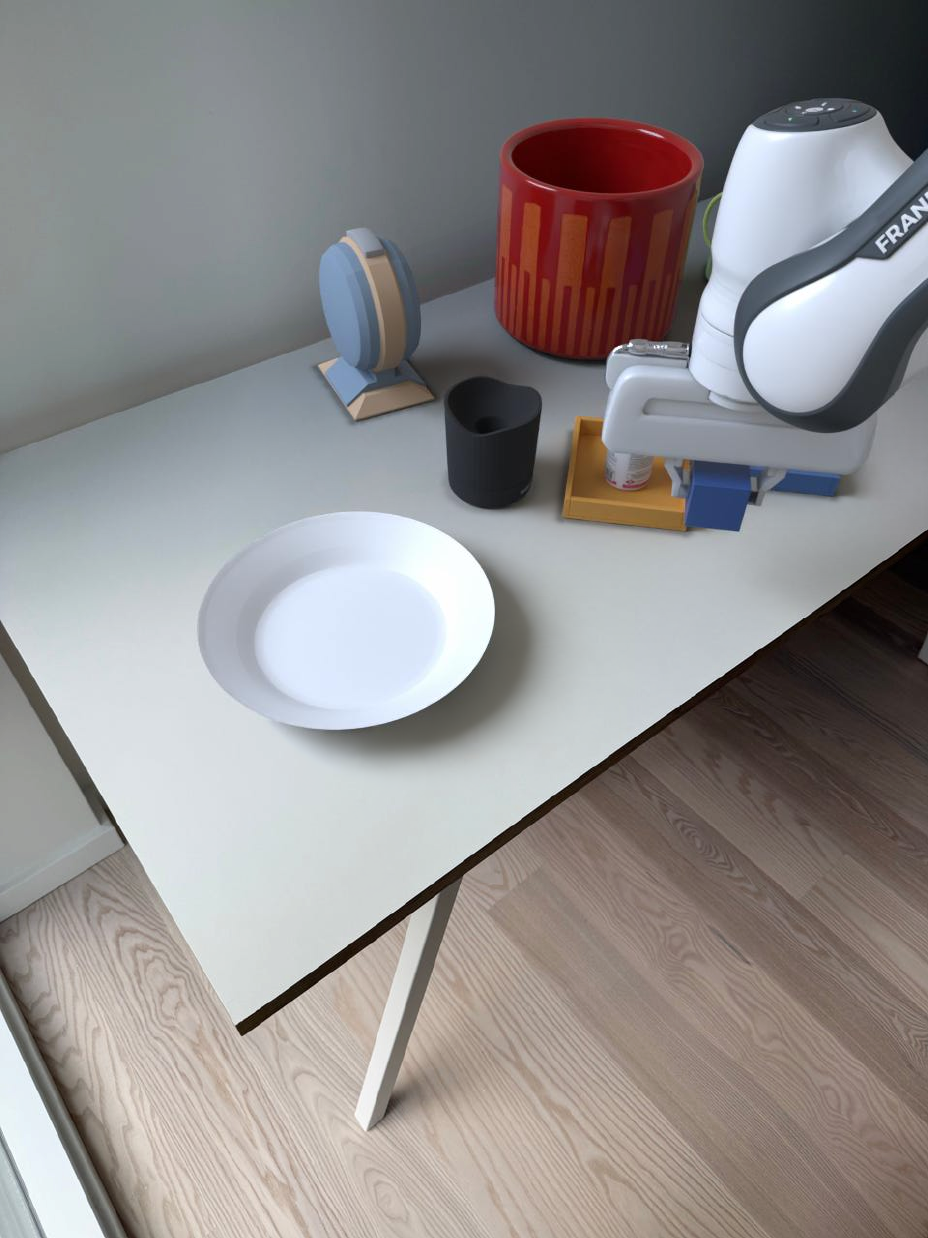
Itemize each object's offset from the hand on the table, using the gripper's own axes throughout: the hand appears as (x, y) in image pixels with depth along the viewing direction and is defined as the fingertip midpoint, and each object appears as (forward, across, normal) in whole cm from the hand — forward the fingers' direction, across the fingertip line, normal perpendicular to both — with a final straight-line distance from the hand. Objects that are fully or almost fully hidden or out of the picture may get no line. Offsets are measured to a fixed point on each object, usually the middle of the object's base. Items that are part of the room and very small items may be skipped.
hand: (715, 497), depth 75 cm
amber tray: (+11, -7, +15) cm, 19 cm away
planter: (+11, -14, +47) cm, 50 cm away
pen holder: (+11, -21, +12) cm, 26 cm away
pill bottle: (+10, -7, +14) cm, 19 cm away
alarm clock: (+10, -37, +27) cm, 47 cm away
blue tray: (+11, +8, +23) cm, 27 cm away
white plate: (+10, -30, -12) cm, 33 cm away
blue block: (+2, 0, 0) cm, 2 cm away
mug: (+11, +6, +63) cm, 64 cm away
